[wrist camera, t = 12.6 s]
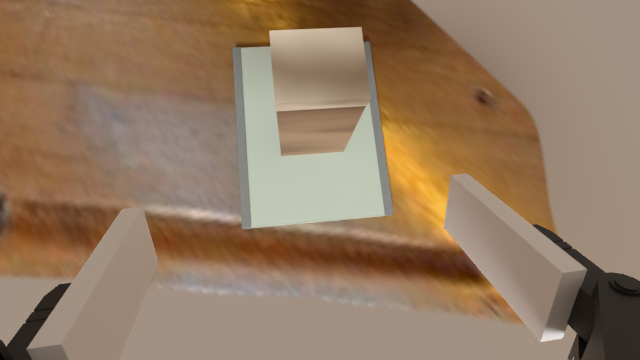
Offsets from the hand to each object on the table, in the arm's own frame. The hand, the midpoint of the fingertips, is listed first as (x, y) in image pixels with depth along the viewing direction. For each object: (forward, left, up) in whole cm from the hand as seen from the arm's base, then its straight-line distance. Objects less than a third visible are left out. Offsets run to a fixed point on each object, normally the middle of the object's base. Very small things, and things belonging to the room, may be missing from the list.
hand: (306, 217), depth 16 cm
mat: (-10, +2, -19) cm, 21 cm away
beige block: (-10, +2, -18) cm, 20 cm away
